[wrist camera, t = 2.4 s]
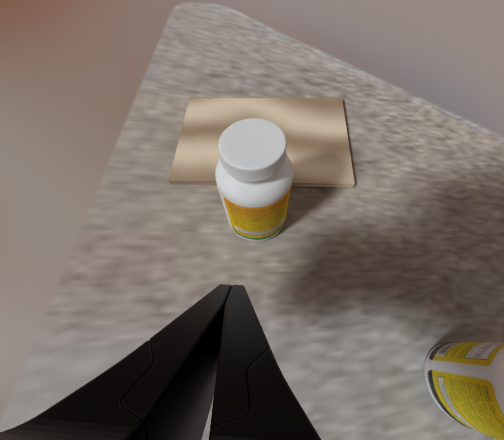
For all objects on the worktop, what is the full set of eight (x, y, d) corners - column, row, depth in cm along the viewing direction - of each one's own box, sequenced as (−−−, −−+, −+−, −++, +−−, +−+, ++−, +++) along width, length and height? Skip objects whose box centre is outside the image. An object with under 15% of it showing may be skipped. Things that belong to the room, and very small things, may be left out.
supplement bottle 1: (219, 206, 24) (192, 128, 15) (268, 183, 24) (269, 97, 16) (244, 254, 21) (229, 194, 13) (297, 226, 22) (316, 154, 14)
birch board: (352, 187, 24) (354, 184, 23) (170, 183, 25) (168, 180, 25) (340, 102, 29) (341, 97, 28) (191, 102, 30) (189, 98, 30)
